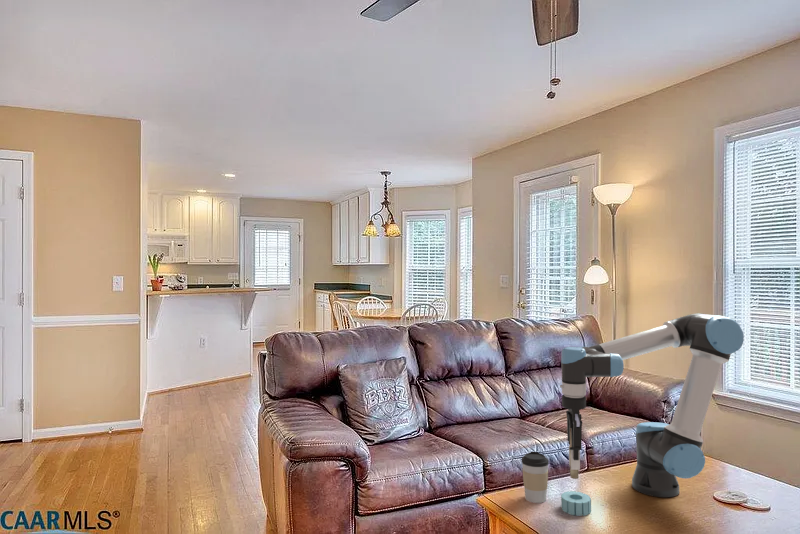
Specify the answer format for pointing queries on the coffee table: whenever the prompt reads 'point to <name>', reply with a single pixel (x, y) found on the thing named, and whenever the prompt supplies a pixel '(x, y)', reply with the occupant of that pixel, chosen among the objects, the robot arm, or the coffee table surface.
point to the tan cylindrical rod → (572, 472)
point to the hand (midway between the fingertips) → (574, 467)
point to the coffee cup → (535, 476)
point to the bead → (576, 503)
